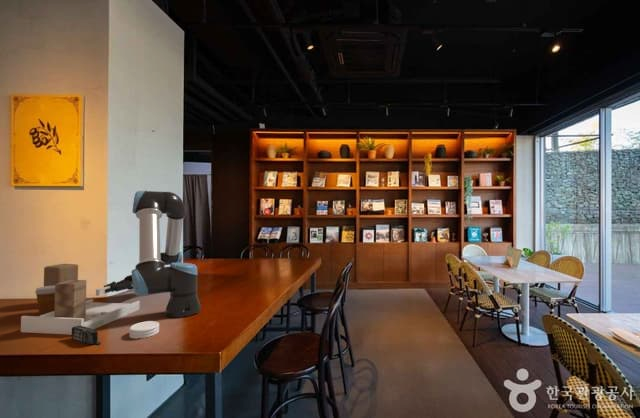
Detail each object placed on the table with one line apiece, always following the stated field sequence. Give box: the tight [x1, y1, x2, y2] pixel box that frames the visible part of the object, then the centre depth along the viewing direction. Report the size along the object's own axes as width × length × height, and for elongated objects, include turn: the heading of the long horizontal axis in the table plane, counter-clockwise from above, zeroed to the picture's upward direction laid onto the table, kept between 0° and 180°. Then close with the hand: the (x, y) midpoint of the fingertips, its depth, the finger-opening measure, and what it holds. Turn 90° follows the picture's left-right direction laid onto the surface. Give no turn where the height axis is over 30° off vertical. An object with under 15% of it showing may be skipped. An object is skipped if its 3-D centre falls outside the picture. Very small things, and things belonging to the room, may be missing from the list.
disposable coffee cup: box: [34, 285, 55, 316], centre depth 136 cm, size 10×10×12 cm
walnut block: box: [54, 279, 87, 319], centre depth 119 cm, size 7×7×16 cm
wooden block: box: [43, 263, 79, 287], centre depth 150 cm, size 10×10×20 cm
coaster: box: [128, 320, 160, 340], centre depth 113 cm, size 10×10×4 cm
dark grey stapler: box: [71, 326, 102, 345], centre depth 106 cm, size 5×3×15 cm
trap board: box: [20, 299, 141, 336], centre depth 128 cm, size 31×26×6 cm
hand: (97, 292), depth 134 cm, fingers closed
